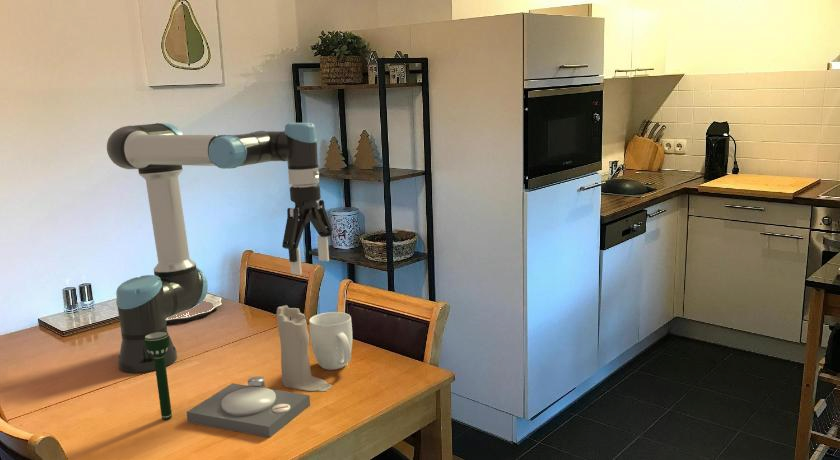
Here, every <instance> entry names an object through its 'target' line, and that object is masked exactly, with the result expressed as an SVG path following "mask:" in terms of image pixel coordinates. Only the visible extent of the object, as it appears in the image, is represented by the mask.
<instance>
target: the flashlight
mask: <svg viewBox="0 0 840 460" xmlns="http://www.w3.org/2000/svg"><path fill="white" fill-rule="evenodd" d="M168 334H169V332H168V331H167V332H166V331H157V332H152V333H149V334H147V335H145V346H146V349H147V351H148V352H149V353H150V354H151V355H152V356H153V357H154V362H155V364H154V365H155V370H154V371H155V376H156V382H157V392H158V393H157V394H158V399H159V407H160V409H159V410H160V416H161V419H162V421H169V420H171V419H172V417H173V413H172V405H171V397H170V390H169V389H170V388H169V383H168V382H169V381H168V375H167V366H166V364H165V356H164V355H165V354H166V352H167V350H168V348H169V344H170V340H169V336H170V335H168Z"/></svg>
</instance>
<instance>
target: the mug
mask: <svg viewBox="0 0 840 460" xmlns="http://www.w3.org/2000/svg"><path fill="white" fill-rule="evenodd" d="M308 320H309V338H310V343H311V350H312V351H313V356H314V358H315V360H316V362H317V364H318V365H319V366H320V367H321V368H322V369H324V370H329V371H331V370H334V371H335V370H339V369H342V368H344V367H346V365H347V364H349V363H350V362H351V360H352V349H353V327H352V326H353V324H352V316H351V315H350V314H349V313H346V312H341V311H329V312H323V313H318V314H315V315H313V316H312V317H310V318H309V319H308Z"/></svg>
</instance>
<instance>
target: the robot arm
mask: <svg viewBox="0 0 840 460" xmlns="http://www.w3.org/2000/svg"><path fill="white" fill-rule="evenodd" d="M316 131H317V130H316V126H315V123H312V122H308V121H307V122H305V121H304V122H289V123H286V124H285V126H284V130H283V131H279V130H278V131H273V130H272V131H271V130H269V131H268V130H267V131H265V130H260V131H259V130H257V131H252V132H249V133H243V134H220V135H219V134H184V132H183V131H182V130H181V129H180V128H178V127H177V126H176V125H174V124H171V123H166V122H165V123H164V122H163V123H162V122H160V123H158V122H156V123H150V124H149V123H148V124H136V125H126V126H122V127H121V126H120V127H119V128H117V129H115V130H114V131H113V132H112V133H111V134H110V135H109V138H108V139H107V141H106V142H107V143H106V152H107V155H108V157H109V159H110V160H111V162H112V163H113V164H115V166H116V167H119V168H122V169H125V170H137V171H138V175H139V176H140V177H142V179H144V180H145V184H146V190H147V191H146V193H147V197H148V204H149V209H150V210H149V211H150V217H151V222H152V223H151V224H152V230H153V236H154V244H155V250H156V257H157V264H156V265H155V266H154V268H153V274H154V275H153V274H148V275H147V274H146V275H140V276H139V277H133V278H130V279H127V280H126V281H125V280H124V282H122V283H121V284H119V286H118V287H117V289H116V294H115V295H116V301H115V302H116V306H117V312H118V319H119V326H120V334H121V344H120V350H119V351H120V352H119V355H118V358H117V363H118V369H119V370H120V371H121V372H123V373H124V372H125V373H131V374H139V373H140V374H141V373H148V372H153V371H156V370H155V365H154V364H155V362H154V357H153V356H152V355H151V354H150V353H149V352H148V351H147V349H146V346H145V335H147V334H149V333H152V332H157V331H166V332H168V327H167V326H168V325H167V323H166V318H169V317H171V316H174V315H176V314H178V313H181V312H183V311H187V310H190V309H192V308H194V307H195V306H197V305H199V304H200V303H201V302H202V301H203V300H204V299H205V297H206V294H208V287H209V286H208V285H209V284H208V279H207V277H206V275H205V274H204V272H203V271H202V270H201V269H200V268H199V267H197V263H196V262H195V261H194V260H193V259H191V258H190V251H189V245H188V238H187V230H186V223H185V216H184V211H183V203H182V197H181V196H182V195H181V190H180V183H179V175H180V174H181V173H182V172H183V166H195V167H196V166H202V167H216V168H217V167H218V168H220V169H222V170H223V169H236V168H239V167H244V166H248V165H249V166H250V165H255V164H262V163H263V164H264V163H267V162H268V163H269V162H287V173H288V184H289V185H291V186H290V187H289V196H290V197H289V198H290V201H291V202H293V203H294V207H288V208H287V210H286V211H287V213H286V214H287V215H286V216H287V217H286V223H285V227H284V228H285V230H284V235H283V240H282V248H284V249H285V250H287V249H288V259H289V260H288V261H289V265H290V266H289V267H290V269H289V270H290V275H300V276H302V274H303V271H302V260H301V258H302V257H301V248H299V244H300V242H301V239H302V235H303V232H304V229H305V227H306V226H307V225H308V223H310V224H312V226H313V228H314V229H315V230H316V232H317V234H318V236H317V237H316V239H317V252H318V253H317V254H318V261H319V262H329V261H330V252H329V239H328V238H329V237H331V236H332V232H333V228H332V224H331V222H330V218H329V216H328V213H327V210H326V208H325V201H324V200H323V199H321V198H322V197H321V196H322V195H321V186H320V185H319V183H320V172H319V171H320V170H319V158H318V138H317V132H316ZM168 335H169V333H168ZM169 340H170V344H169V348H168V350H167V352H166V354H165V355H164V356H165V364H166V367H169V366H170V365H172V364H173V363H174V362H176V360H178V354H177V353H178V352H177V349H176V347H175V346H174V343H173V341H172V338H171V336H170V335H169Z"/></svg>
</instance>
